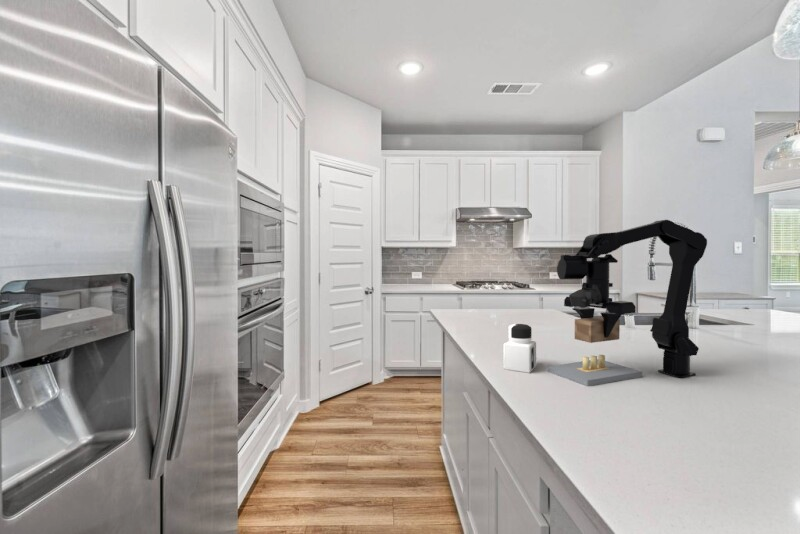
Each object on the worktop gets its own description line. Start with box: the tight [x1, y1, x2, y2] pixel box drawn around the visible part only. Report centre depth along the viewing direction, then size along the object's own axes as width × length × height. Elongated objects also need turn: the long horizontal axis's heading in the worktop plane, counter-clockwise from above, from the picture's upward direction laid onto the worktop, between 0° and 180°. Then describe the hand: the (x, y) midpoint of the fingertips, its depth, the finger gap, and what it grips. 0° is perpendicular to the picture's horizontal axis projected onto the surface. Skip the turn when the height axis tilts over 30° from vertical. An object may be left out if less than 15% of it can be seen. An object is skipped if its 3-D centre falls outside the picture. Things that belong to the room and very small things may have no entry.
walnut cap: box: [574, 316, 621, 344], centre depth 108 cm, size 11×5×6 cm, turn 113°
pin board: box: [547, 354, 643, 387], centre depth 109 cm, size 20×14×5 cm
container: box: [502, 323, 537, 374], centre depth 116 cm, size 8×8×13 cm
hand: (597, 335), depth 108 cm, fingers closed on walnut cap, 5 cm apart
